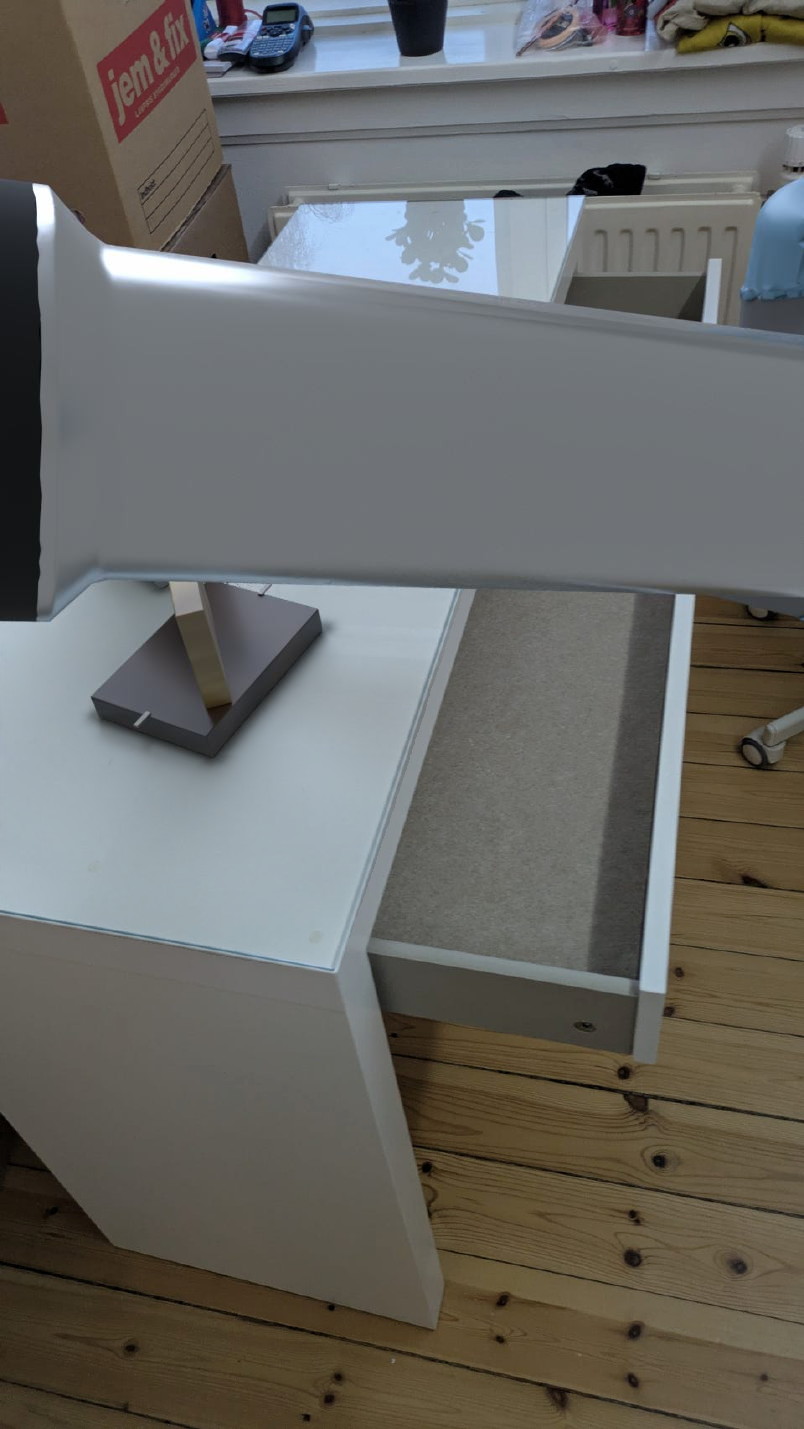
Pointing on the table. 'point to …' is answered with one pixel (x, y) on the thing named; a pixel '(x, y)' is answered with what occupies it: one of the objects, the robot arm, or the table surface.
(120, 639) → the table surface
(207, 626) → the tan flat piece
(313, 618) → the lock plate
